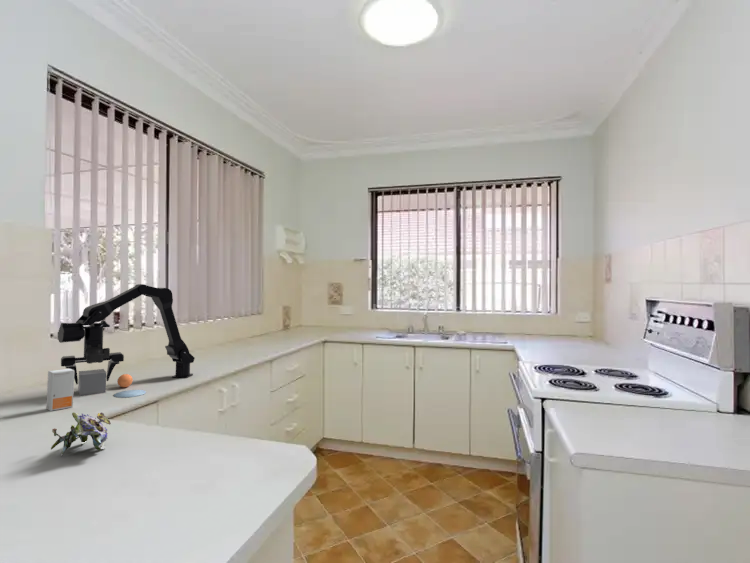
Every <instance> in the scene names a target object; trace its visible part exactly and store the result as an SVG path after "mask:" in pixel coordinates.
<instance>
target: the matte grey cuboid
mask: <svg viewBox="0 0 750 563" xmlns="http://www.w3.org/2000/svg"><path fill="white" fill-rule="evenodd" d="M106 376H107V371H106V369H104V368H101V369H99V368H98V369H91V370H80V371H78V384H77V391H78V394H79V397H80V396H89V395H95V394H103V393H105V394H106V392H107V388H106V387H107V379H106Z"/></svg>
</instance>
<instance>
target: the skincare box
mask: <svg viewBox="0 0 750 563" xmlns="http://www.w3.org/2000/svg"><path fill="white" fill-rule="evenodd" d="M74 372H75V371H74V370H72V369H69V368H65V369H64V368H63V369H56V370H47V388H46V389H47V390H46V407H45V408H46V410H48V411H49V412H53V411H58V410H64V409H70V408H71V407H72V408H73V406H74V392H75V390H74V389H75V379H74Z"/></svg>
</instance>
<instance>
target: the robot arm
mask: <svg viewBox="0 0 750 563" xmlns="http://www.w3.org/2000/svg"><path fill="white" fill-rule="evenodd" d="M141 296H145V297H149V298H151V300H152V302H153V304H154V305H155V306H156V307H157V309H158V310H159V312H160V316H161V320H162V322H163V325H164V329H165V333H166V335H167V336H166V337H167V339H168V344H167V345H165V346H164V347H165V350H166V355H168V356H169V357H170V358H171V360H172V362H175V374H174V375H172V376H171V378H176V377H179V378H182V379H183V378H189V377H192V376H193V375H194V373H191V364H192V363H194V361H195V359H196V358H195V357H194V355H192V354H191V353H190V349H189V348H188V346H187V344H186V342H185V341H184V340H183V338H182V337H181V334H180V330H179V328H178V327H179V326H178V324H177V321H176V320H177V319H176V318H175V314H174V311H173V303H174V298H173V292H172V290H171V289H169V288H167V287H155V286H150V285H146V284H143V283H142V284H141V283H138V284H135V285H134V286H133V287H131V288H129V289H127V290H125V291H124V292H121V293H119V294H117V295H115V296H114V297H111V298H110V299H107V300H105V301H101V302H97V303H94V304H92V305H88V306H86V307H85V308H83V312H82V315H80V317H78V319H77V320H76V321H75V322H60V326H59V327H58V328H59V329H58V331H57V339H58V343H61V344H62V343H63V344H64V343H73V342H74V343H75V342H80V341H81V340H83V356H82V357H81V356H80V357H76V356H75V355H66V356H65V355H63V356H62V357H61V358H60V366H61V367H65V369H72V370H74V371H75V372H74V383H75V385H78V380H79V377H78V371H77V370H78V369H77V365H76V364H77V363H86V364H91V365H92V364H94V363H99V364H100V363H103V362H104V361H105V362H106V361H108V364H107V371H106V382H108V381H109V380H110V378H111V374H112V372H113V370H114V368H115V366H117V365H120V363H121V362H124V361H125V360H124V359H125V356H124V353H122V352H120V351H119V352H111V350H110V348H109V347H107V348H106V347H104V328H110V327H111V325H110V324H109V323H107V322H106V321H105V319H107V318H108V317H109V316H110V315H111V314H112V313H114V311H116V309H118V308H120V307H122V306H124V305H126V304H128V303H130V302H131V301H133V300H135V299H137V298H138V297H141ZM179 378H178V379H179Z"/></svg>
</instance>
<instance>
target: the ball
mask: <svg viewBox="0 0 750 563" xmlns="http://www.w3.org/2000/svg"><path fill="white" fill-rule="evenodd" d="M133 381H134V380H133V376H132V375H130V374H128V373H124V374H122V375H121V374H120V376H119V377H118V378H117V384H118V386H119V387H120V388H128V387H130V386H131V385H132V383H133Z"/></svg>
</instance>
